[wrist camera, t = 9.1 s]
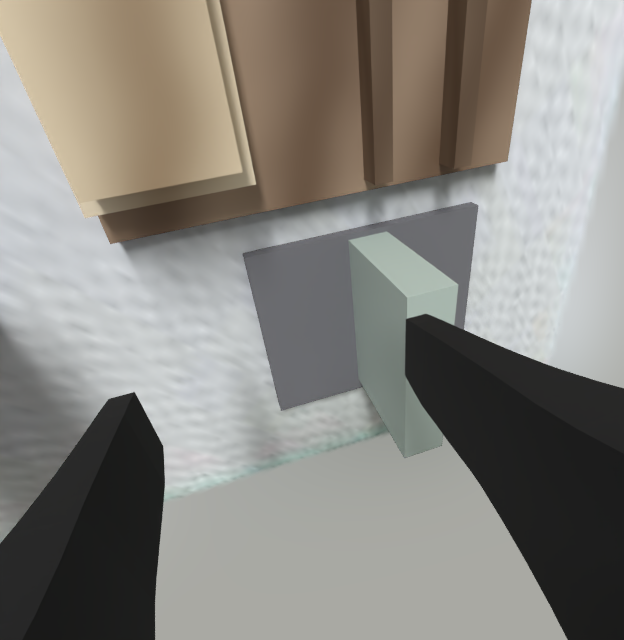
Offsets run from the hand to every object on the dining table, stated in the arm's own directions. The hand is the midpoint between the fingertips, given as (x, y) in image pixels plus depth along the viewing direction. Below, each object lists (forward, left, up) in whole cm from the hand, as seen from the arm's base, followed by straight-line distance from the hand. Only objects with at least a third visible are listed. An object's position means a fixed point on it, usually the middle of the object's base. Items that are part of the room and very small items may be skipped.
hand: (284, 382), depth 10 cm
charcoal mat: (+6, -5, -9) cm, 12 cm away
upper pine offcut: (-2, +8, -7) cm, 11 cm away
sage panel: (+6, -5, -9) cm, 12 cm away
